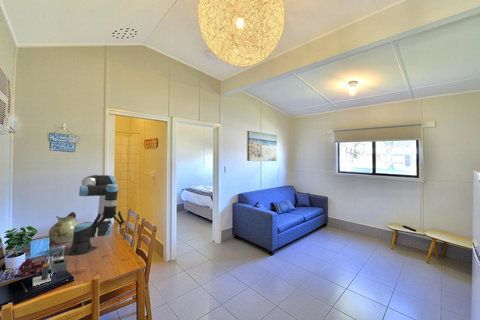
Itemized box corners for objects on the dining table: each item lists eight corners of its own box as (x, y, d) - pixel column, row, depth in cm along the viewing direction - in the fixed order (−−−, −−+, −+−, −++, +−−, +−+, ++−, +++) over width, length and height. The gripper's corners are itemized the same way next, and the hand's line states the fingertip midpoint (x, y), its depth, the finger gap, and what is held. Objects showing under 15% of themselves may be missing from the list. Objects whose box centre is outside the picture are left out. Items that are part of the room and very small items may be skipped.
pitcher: (52, 247, 165) (56, 218, 166) (43, 241, 176) (46, 213, 178) (83, 240, 184) (86, 214, 186) (73, 235, 196) (76, 210, 197)
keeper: (32, 279, 121) (34, 263, 121) (54, 274, 128) (56, 259, 129) (32, 287, 114) (34, 270, 114) (56, 280, 121) (57, 264, 122)
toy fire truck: (17, 274, 125) (19, 258, 126) (44, 268, 134) (46, 252, 135) (17, 279, 121) (19, 262, 121) (45, 272, 130) (46, 256, 130)
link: (49, 270, 132) (50, 261, 132) (64, 266, 137) (65, 258, 138) (50, 274, 127) (51, 265, 127) (66, 271, 132) (66, 262, 133)
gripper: (90, 208, 128) (87, 240, 127) (130, 204, 147) (127, 232, 146) (87, 206, 133) (84, 237, 132) (126, 203, 152) (124, 230, 151)
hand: (107, 235), depth 139 cm, fingers open, 13 cm apart
